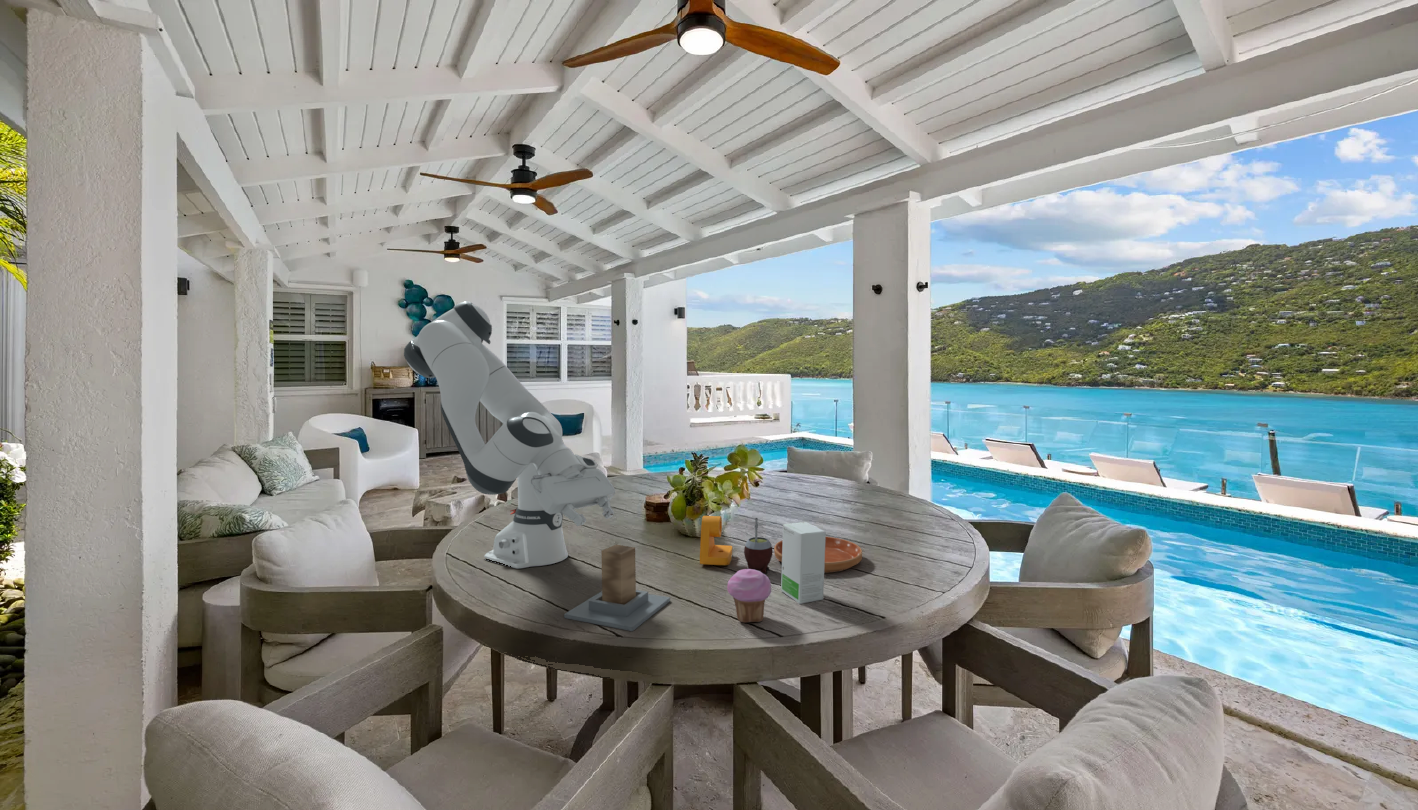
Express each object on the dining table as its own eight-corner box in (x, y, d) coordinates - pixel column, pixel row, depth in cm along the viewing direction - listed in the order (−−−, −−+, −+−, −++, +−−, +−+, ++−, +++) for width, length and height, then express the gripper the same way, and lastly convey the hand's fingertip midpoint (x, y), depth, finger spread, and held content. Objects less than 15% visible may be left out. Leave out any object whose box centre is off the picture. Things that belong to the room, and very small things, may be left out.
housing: (564, 617, 117) (564, 604, 116) (608, 590, 131) (607, 578, 131) (632, 631, 110) (632, 617, 110) (670, 601, 125) (670, 588, 125)
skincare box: (780, 591, 130) (780, 523, 129) (805, 587, 133) (805, 520, 132) (800, 605, 122) (800, 533, 122) (826, 600, 125) (826, 529, 124)
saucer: (845, 582, 136) (845, 567, 136) (759, 566, 148) (759, 552, 148) (872, 556, 155) (873, 543, 155) (794, 543, 167) (794, 531, 167)
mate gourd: (760, 564, 148) (760, 507, 148) (780, 573, 142) (780, 513, 141) (737, 570, 144) (737, 511, 144) (756, 579, 138) (756, 518, 137)
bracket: (727, 568, 146) (727, 522, 145) (699, 567, 147) (699, 521, 147) (732, 555, 157) (732, 512, 156) (706, 554, 158) (706, 511, 157)
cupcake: (730, 629, 111) (730, 578, 110) (725, 611, 119) (724, 563, 119) (775, 627, 112) (775, 576, 111) (767, 609, 120) (766, 562, 120)
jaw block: (602, 607, 120) (601, 550, 119) (617, 598, 124) (616, 544, 123) (621, 611, 117) (620, 554, 117) (636, 603, 122) (635, 547, 121)
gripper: (534, 466, 117) (571, 518, 112) (599, 459, 135) (633, 503, 130) (519, 487, 119) (554, 538, 114) (584, 477, 137) (617, 521, 132)
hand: (597, 520), depth 122 cm, fingers open, 8 cm apart
